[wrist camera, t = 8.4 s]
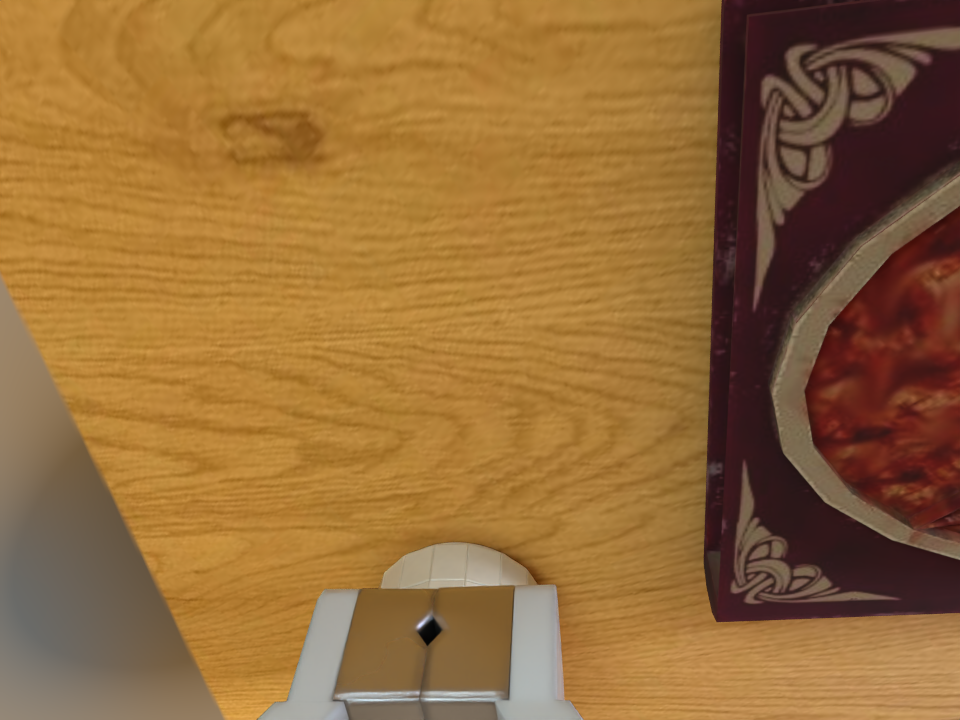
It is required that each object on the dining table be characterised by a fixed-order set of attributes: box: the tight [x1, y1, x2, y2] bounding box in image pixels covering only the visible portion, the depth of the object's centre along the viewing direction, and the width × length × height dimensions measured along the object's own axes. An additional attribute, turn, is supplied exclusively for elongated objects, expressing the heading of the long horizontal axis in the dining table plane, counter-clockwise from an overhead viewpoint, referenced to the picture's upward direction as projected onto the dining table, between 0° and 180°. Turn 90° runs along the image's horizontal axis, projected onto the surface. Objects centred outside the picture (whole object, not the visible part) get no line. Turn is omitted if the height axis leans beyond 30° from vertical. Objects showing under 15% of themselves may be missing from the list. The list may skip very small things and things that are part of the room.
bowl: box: [379, 542, 538, 589], centre depth 30 cm, size 6×6×4 cm
